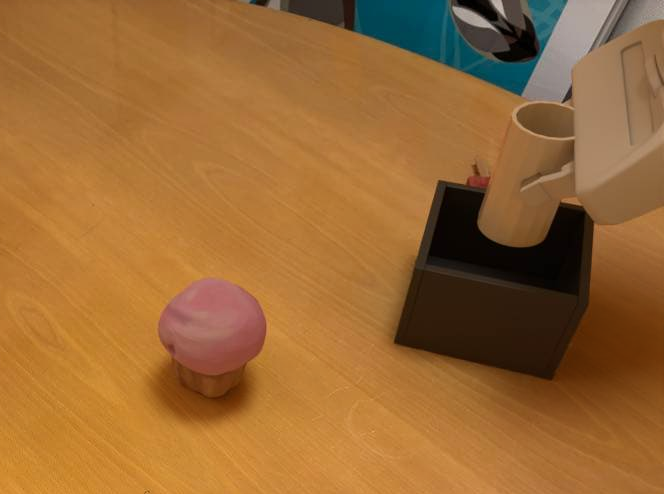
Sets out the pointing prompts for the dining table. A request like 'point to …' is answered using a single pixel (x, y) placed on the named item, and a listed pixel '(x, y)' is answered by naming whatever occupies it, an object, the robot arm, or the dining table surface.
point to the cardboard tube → (526, 173)
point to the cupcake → (212, 334)
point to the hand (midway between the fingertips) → (524, 171)
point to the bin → (497, 287)
